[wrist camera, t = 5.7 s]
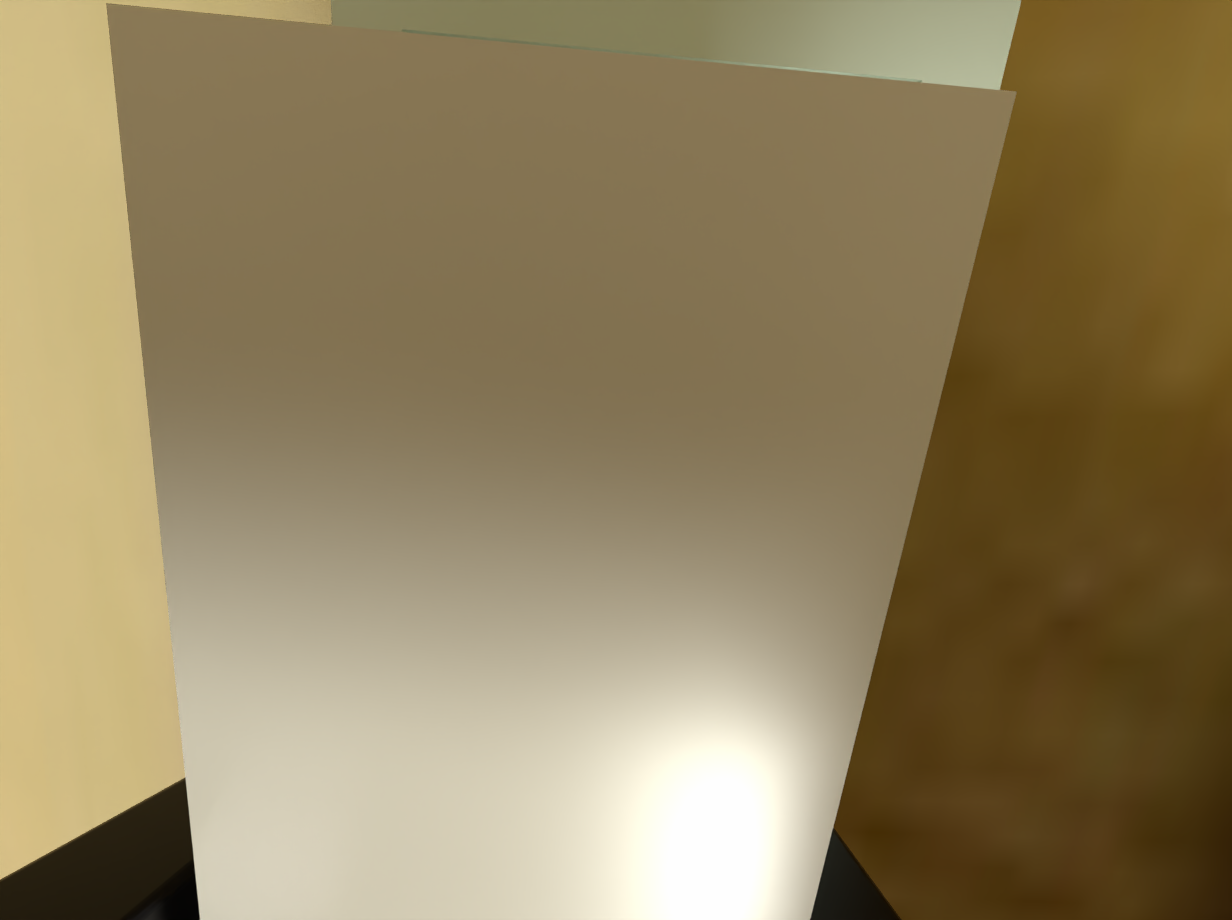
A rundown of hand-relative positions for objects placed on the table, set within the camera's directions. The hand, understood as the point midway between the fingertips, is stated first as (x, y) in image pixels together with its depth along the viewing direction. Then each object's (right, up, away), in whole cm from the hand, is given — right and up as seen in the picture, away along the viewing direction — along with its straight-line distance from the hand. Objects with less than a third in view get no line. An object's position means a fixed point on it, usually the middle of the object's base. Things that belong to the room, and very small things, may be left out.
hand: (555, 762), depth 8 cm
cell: (0, +1, +1) cm, 1 cm away
